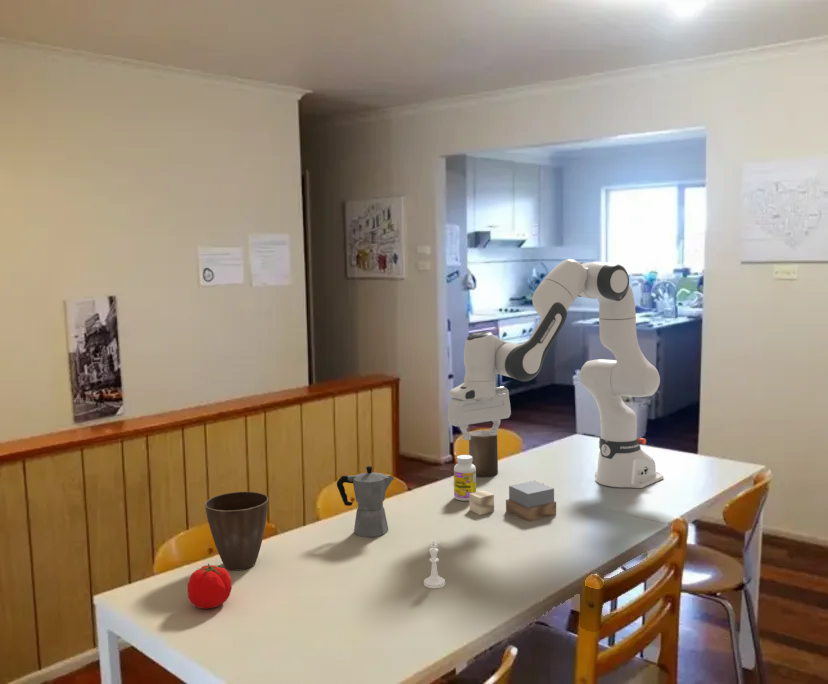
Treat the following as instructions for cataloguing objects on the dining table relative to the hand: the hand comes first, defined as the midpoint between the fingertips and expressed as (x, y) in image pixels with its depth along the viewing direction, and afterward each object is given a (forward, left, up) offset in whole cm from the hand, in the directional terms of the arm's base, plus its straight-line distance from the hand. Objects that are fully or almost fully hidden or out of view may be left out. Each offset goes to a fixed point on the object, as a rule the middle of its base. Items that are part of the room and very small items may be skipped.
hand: (480, 437), depth 220 cm
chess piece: (+39, +33, -22) cm, 55 cm away
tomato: (+84, +13, -22) cm, 88 cm away
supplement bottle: (-3, -12, -22) cm, 25 cm away
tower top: (-10, +10, -18) cm, 23 cm away
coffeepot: (+35, -5, -22) cm, 41 cm away
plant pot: (+71, -4, -22) cm, 74 cm away
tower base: (-10, +10, -22) cm, 26 cm away
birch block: (0, 0, -22) cm, 22 cm away
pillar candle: (-24, -30, -22) cm, 44 cm away
